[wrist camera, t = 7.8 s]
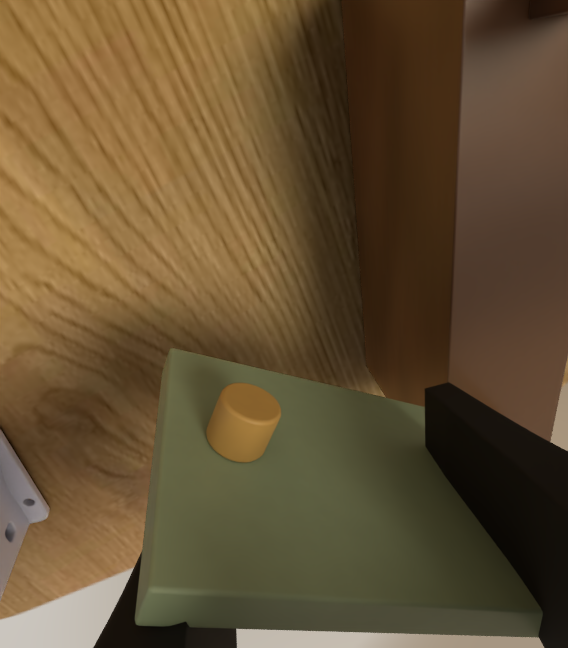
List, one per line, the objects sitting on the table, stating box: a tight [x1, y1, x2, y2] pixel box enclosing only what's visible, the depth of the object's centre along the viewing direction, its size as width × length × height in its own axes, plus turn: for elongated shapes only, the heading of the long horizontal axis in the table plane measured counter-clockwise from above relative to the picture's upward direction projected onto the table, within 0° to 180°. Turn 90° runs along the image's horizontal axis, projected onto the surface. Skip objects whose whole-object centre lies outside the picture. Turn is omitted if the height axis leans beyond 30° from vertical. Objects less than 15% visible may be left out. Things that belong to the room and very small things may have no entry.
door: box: [135, 348, 543, 637], centre depth 10 cm, size 12×2×6 cm, turn 68°
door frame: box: [341, 0, 568, 442], centre depth 12 cm, size 16×4×15 cm, turn 9°
